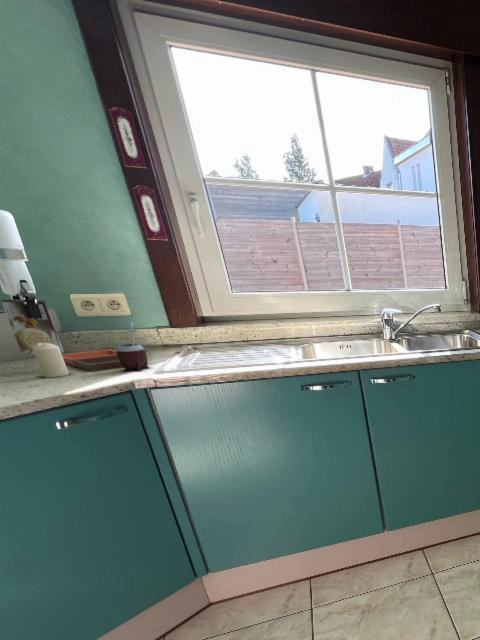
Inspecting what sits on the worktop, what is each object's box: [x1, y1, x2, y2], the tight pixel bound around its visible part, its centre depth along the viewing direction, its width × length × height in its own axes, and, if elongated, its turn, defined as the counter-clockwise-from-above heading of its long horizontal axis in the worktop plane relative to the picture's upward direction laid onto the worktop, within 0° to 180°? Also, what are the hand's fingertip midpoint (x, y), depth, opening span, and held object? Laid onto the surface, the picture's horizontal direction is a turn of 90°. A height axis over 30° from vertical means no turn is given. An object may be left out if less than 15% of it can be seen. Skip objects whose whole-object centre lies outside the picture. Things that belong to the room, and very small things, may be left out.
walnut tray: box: [73, 355, 124, 372], centre depth 166 cm, size 14×13×2 cm
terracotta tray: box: [62, 349, 117, 366], centre depth 172 cm, size 14×11×2 cm
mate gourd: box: [115, 320, 150, 372], centre depth 159 cm, size 8×8×15 cm
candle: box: [33, 342, 69, 378], centre depth 150 cm, size 6×6×10 cm
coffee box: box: [0, 299, 65, 356], centre depth 152 cm, size 9×6×16 cm
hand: (29, 316), depth 151 cm, fingers closed on coffee box, 7 cm apart
